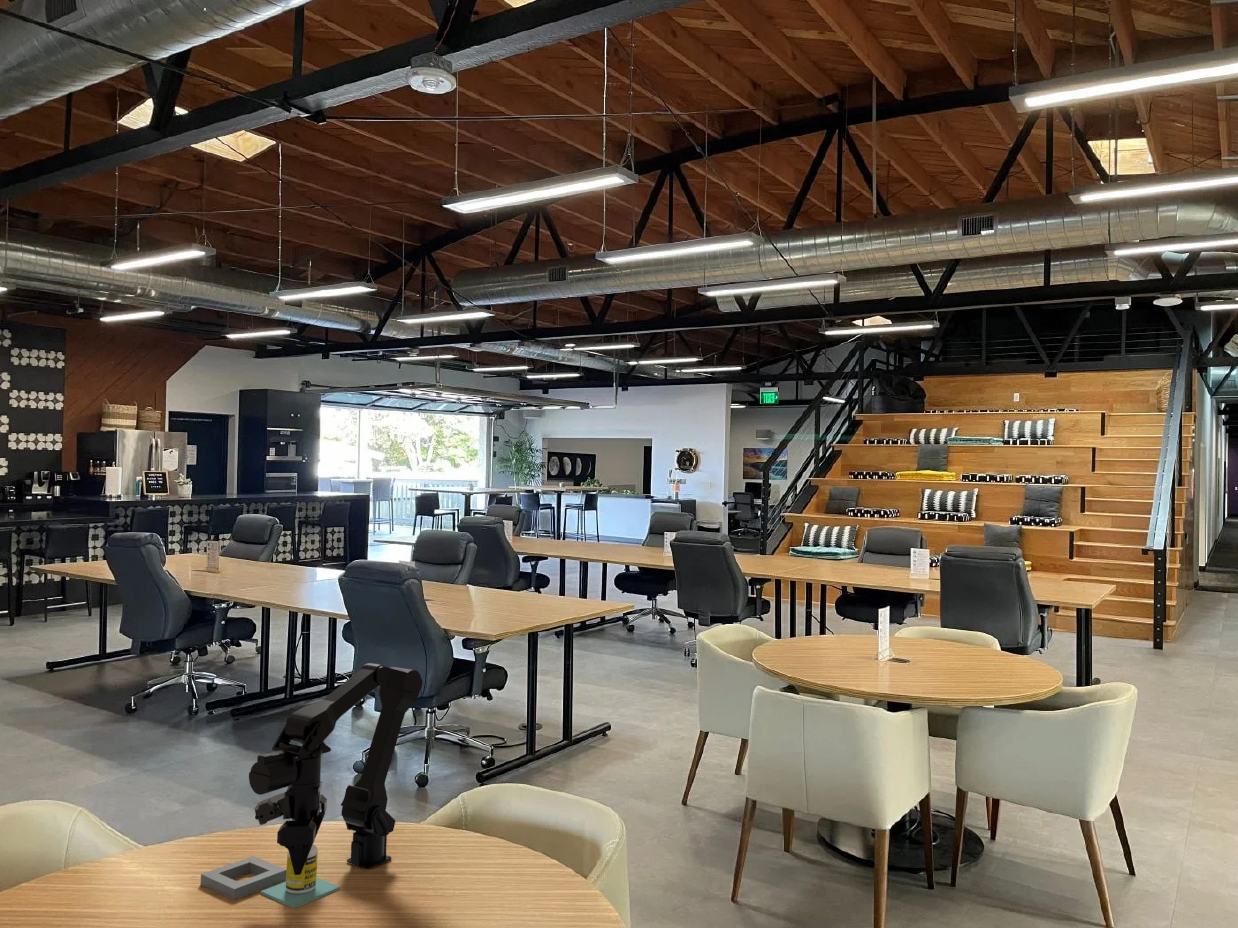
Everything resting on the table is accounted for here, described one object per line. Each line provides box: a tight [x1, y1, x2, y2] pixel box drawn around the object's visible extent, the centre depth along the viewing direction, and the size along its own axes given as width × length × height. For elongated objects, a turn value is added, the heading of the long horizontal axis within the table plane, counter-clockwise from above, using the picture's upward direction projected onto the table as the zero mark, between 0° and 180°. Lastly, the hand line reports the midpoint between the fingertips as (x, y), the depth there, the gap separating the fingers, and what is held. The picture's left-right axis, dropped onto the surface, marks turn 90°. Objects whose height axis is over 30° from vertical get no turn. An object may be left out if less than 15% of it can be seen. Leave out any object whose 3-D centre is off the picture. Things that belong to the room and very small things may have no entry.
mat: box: [260, 876, 341, 909], centre depth 167 cm, size 10×10×1 cm
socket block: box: [200, 855, 287, 901], centre depth 171 cm, size 11×11×2 cm
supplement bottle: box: [285, 841, 318, 894], centre depth 168 cm, size 5×5×10 cm
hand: (301, 864), depth 168 cm, fingers open, 9 cm apart
